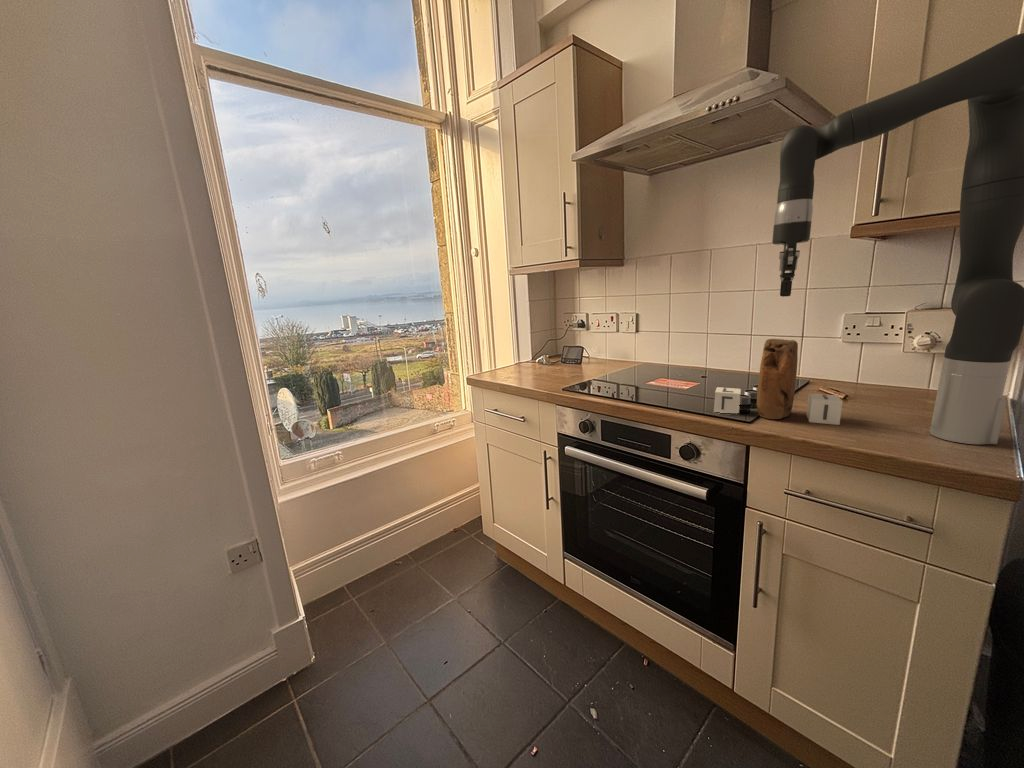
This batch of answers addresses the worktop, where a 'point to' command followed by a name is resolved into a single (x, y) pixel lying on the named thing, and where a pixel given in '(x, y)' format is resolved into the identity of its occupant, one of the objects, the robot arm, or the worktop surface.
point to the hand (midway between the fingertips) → (785, 296)
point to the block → (777, 378)
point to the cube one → (824, 409)
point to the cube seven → (727, 400)
